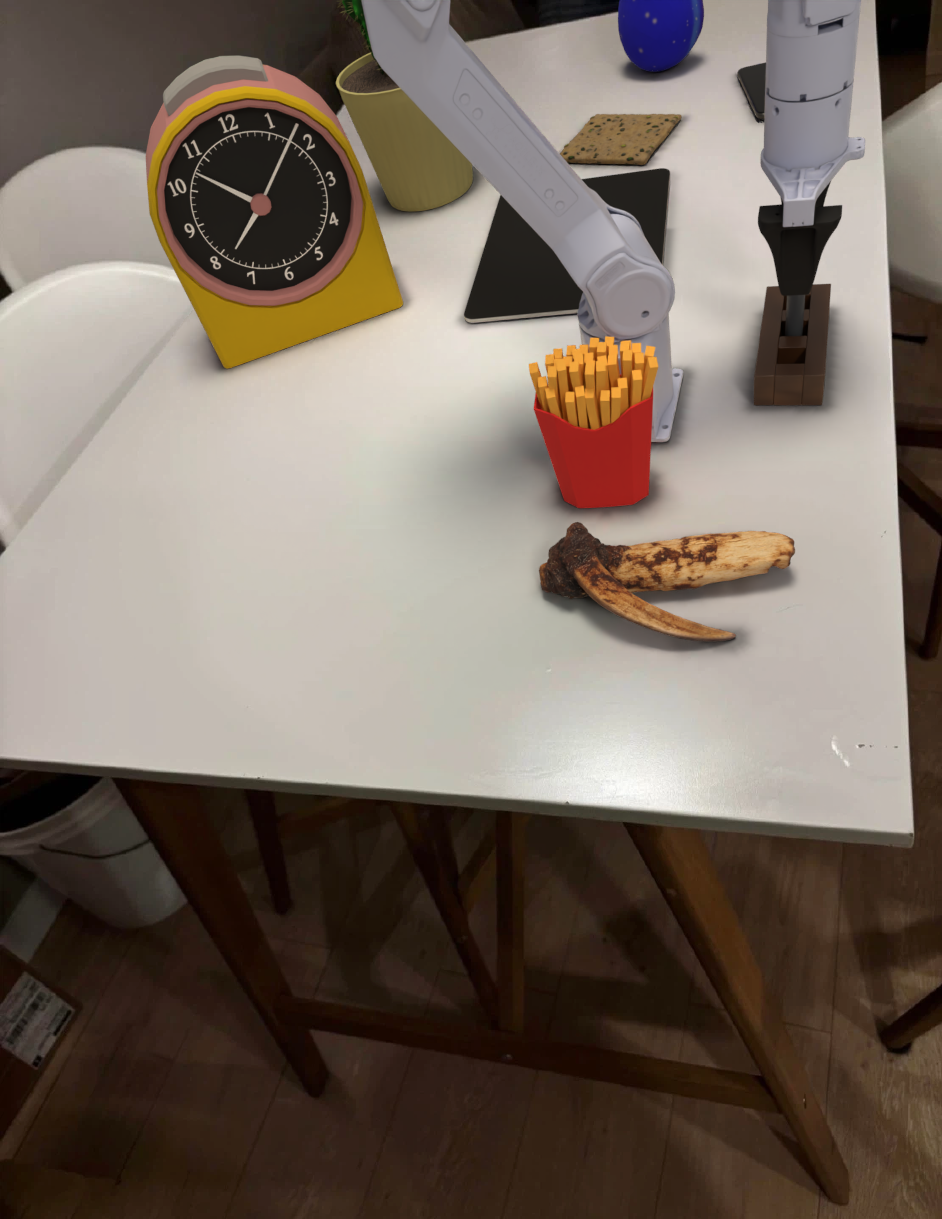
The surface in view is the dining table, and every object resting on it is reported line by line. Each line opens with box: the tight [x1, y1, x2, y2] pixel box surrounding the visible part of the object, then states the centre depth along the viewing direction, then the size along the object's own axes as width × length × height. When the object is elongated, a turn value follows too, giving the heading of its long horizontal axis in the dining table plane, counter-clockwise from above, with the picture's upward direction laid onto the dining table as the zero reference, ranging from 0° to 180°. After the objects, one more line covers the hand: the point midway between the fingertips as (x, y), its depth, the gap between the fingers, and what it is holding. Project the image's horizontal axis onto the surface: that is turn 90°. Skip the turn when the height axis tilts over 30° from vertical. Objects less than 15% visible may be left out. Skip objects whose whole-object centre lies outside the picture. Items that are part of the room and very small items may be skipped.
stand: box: [753, 283, 832, 406], centre depth 76 cm, size 5×13×3 cm, turn 164°
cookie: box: [559, 113, 682, 166], centre depth 111 cm, size 12×12×1 cm
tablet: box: [463, 167, 671, 324], centre depth 97 cm, size 27×1×20 cm
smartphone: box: [736, 61, 766, 120], centre depth 110 cm, size 7×1×15 cm
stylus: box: [785, 295, 805, 336], centre depth 74 cm, size 1×1×9 cm
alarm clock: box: [145, 55, 404, 369], centre depth 90 cm, size 21×9×26 cm, turn 105°
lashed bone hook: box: [538, 521, 796, 643], centre depth 62 cm, size 9×5×18 cm
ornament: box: [617, 0, 705, 73], centre depth 117 cm, size 11×9×15 cm
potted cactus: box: [334, 0, 474, 213], centre depth 103 cm, size 15×15×30 cm
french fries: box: [528, 336, 658, 509], centre depth 67 cm, size 9×4×13 cm, turn 82°
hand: (798, 265), depth 71 cm, fingers open, 7 cm apart
